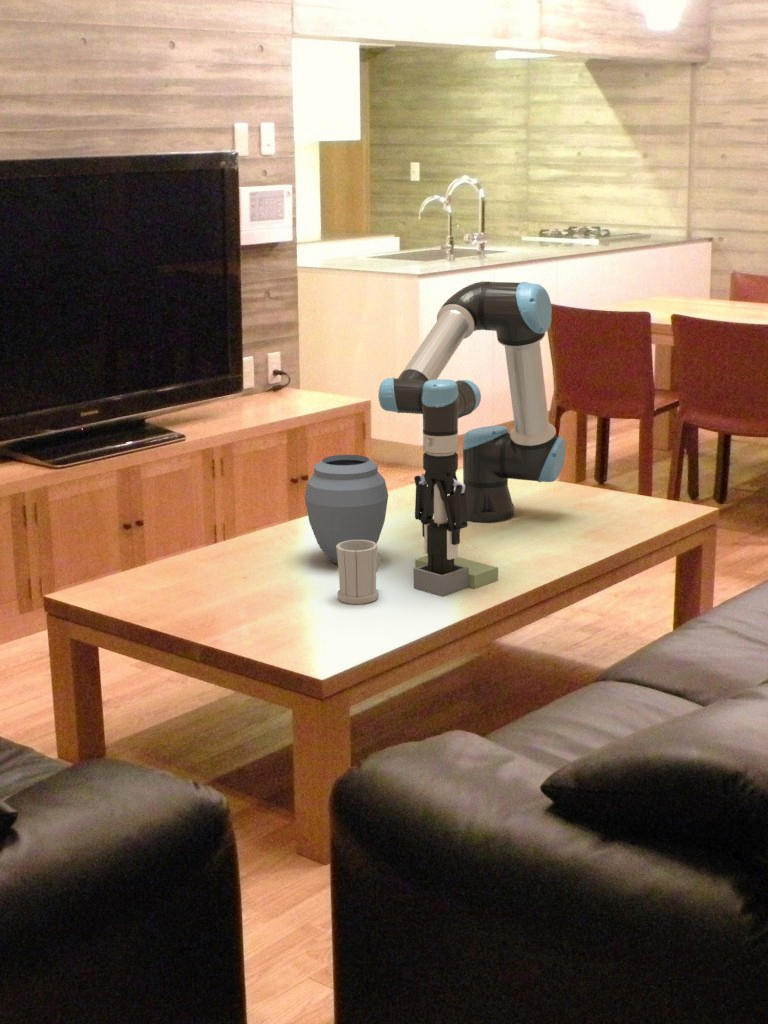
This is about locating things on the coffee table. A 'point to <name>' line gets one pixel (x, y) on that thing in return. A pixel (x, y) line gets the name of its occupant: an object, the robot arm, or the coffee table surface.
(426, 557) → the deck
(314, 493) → the vase
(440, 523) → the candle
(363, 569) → the cup
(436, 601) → the coffee table surface
